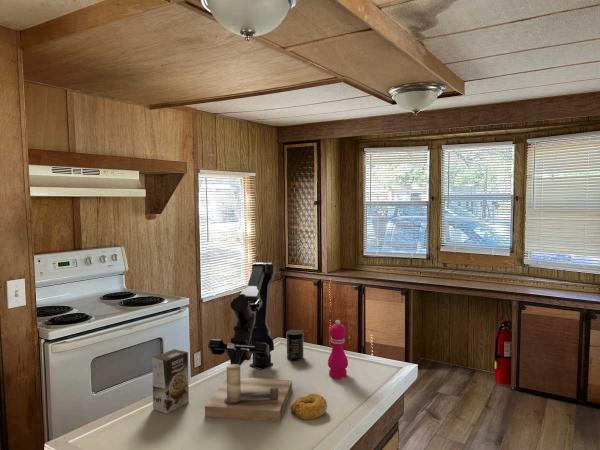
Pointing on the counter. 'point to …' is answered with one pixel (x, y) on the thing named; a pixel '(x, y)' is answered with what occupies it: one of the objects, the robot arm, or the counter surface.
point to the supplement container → (294, 344)
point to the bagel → (309, 406)
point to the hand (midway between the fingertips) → (232, 374)
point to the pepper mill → (337, 351)
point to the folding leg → (235, 387)
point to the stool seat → (251, 408)
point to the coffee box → (170, 380)
